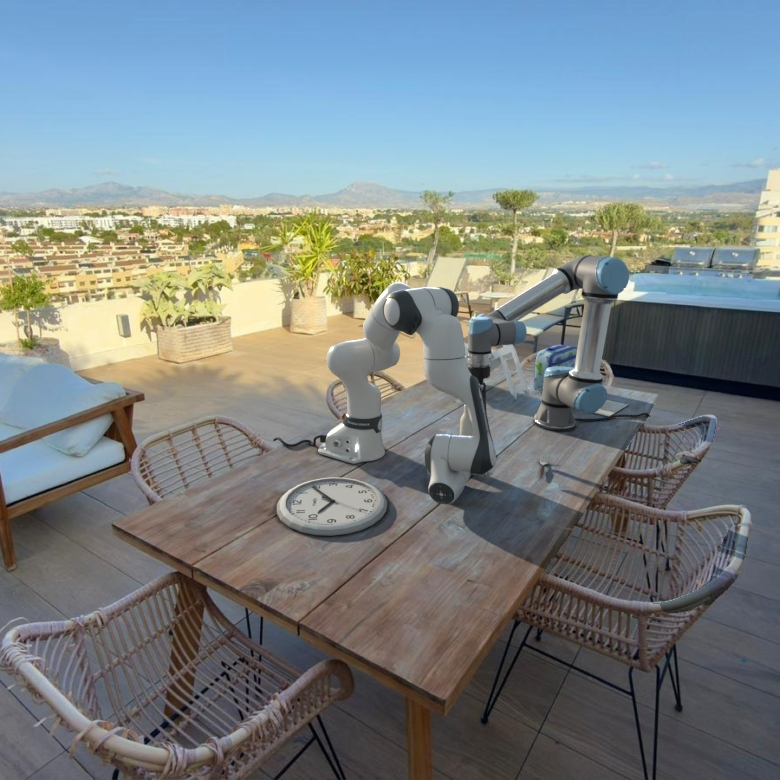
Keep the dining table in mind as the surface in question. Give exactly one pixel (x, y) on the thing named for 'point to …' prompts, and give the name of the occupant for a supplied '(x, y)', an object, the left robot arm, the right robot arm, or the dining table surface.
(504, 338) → the right robot arm
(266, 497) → the dining table surface
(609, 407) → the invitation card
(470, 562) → the dining table surface
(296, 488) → the wall clock
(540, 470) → the fork
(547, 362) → the lunch box
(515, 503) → the dining table surface
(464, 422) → the bottle
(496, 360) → the white plastic object
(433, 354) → the left robot arm
